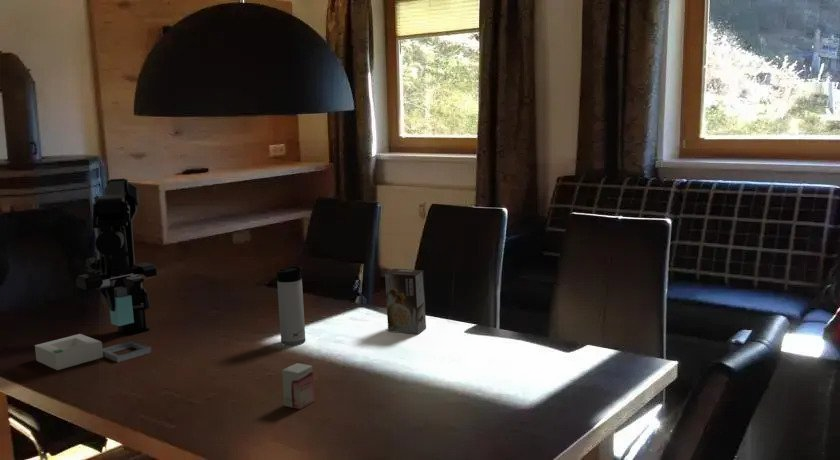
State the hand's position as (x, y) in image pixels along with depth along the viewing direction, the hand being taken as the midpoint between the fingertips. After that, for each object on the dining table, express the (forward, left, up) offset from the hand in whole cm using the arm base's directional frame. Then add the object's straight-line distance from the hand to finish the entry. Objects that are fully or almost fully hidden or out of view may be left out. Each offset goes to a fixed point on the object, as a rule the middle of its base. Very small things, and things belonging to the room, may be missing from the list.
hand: (121, 309), depth 194 cm
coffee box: (-57, +45, -12) cm, 73 cm away
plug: (0, 0, -4) cm, 4 cm away
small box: (-6, +61, -12) cm, 62 cm away
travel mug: (-32, +28, -12) cm, 44 cm away
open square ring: (0, 0, -12) cm, 12 cm away
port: (+10, -8, -12) cm, 18 cm away
